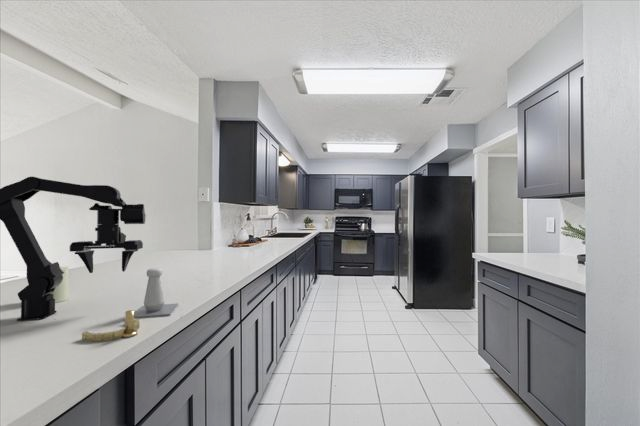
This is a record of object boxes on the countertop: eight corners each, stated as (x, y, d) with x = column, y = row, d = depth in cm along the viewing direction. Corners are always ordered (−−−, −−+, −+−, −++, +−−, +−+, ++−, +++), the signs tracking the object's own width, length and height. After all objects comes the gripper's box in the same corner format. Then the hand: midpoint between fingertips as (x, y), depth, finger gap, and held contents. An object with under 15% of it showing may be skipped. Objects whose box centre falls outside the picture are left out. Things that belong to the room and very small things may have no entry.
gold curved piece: (80, 339, 69) (80, 314, 70) (129, 322, 81) (129, 301, 81) (108, 346, 66) (109, 320, 66) (155, 327, 77) (155, 305, 77)
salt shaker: (166, 306, 94) (166, 266, 94) (163, 311, 89) (163, 269, 89) (145, 308, 92) (145, 267, 92) (141, 313, 87) (142, 270, 87)
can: (51, 304, 98) (52, 269, 98) (25, 304, 98) (25, 269, 98) (75, 297, 107) (75, 265, 107) (50, 297, 107) (51, 265, 108)
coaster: (128, 319, 84) (128, 317, 84) (141, 307, 94) (141, 305, 94) (169, 315, 86) (169, 313, 86) (178, 305, 97) (178, 303, 97)
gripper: (148, 223, 104) (147, 266, 104) (88, 224, 99) (87, 269, 99) (136, 224, 93) (136, 272, 93) (68, 224, 88) (68, 275, 88)
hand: (107, 272), depth 93 cm, fingers open, 9 cm apart
